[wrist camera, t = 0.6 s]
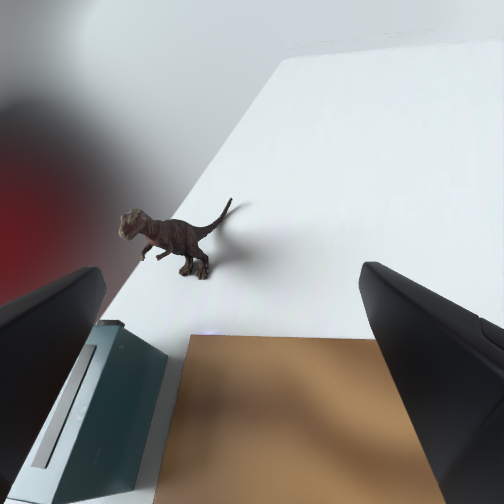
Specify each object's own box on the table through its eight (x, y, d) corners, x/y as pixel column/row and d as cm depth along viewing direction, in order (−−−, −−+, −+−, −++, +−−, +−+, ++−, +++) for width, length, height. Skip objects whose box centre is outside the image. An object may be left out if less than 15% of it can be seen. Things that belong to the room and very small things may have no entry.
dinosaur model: (101, 225, 21) (189, 125, 29) (161, 298, 30) (215, 207, 39) (143, 233, 20) (222, 127, 28) (192, 307, 29) (241, 210, 37)
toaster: (133, 491, 21) (49, 508, 14) (67, 479, 22) (-36, 491, 16) (171, 343, 27) (125, 309, 21) (119, 341, 29) (60, 309, 22)
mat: (521, 610, 14) (526, 614, 14) (148, 532, 19) (145, 534, 19) (441, 342, 22) (443, 341, 22) (192, 335, 27) (190, 334, 27)
